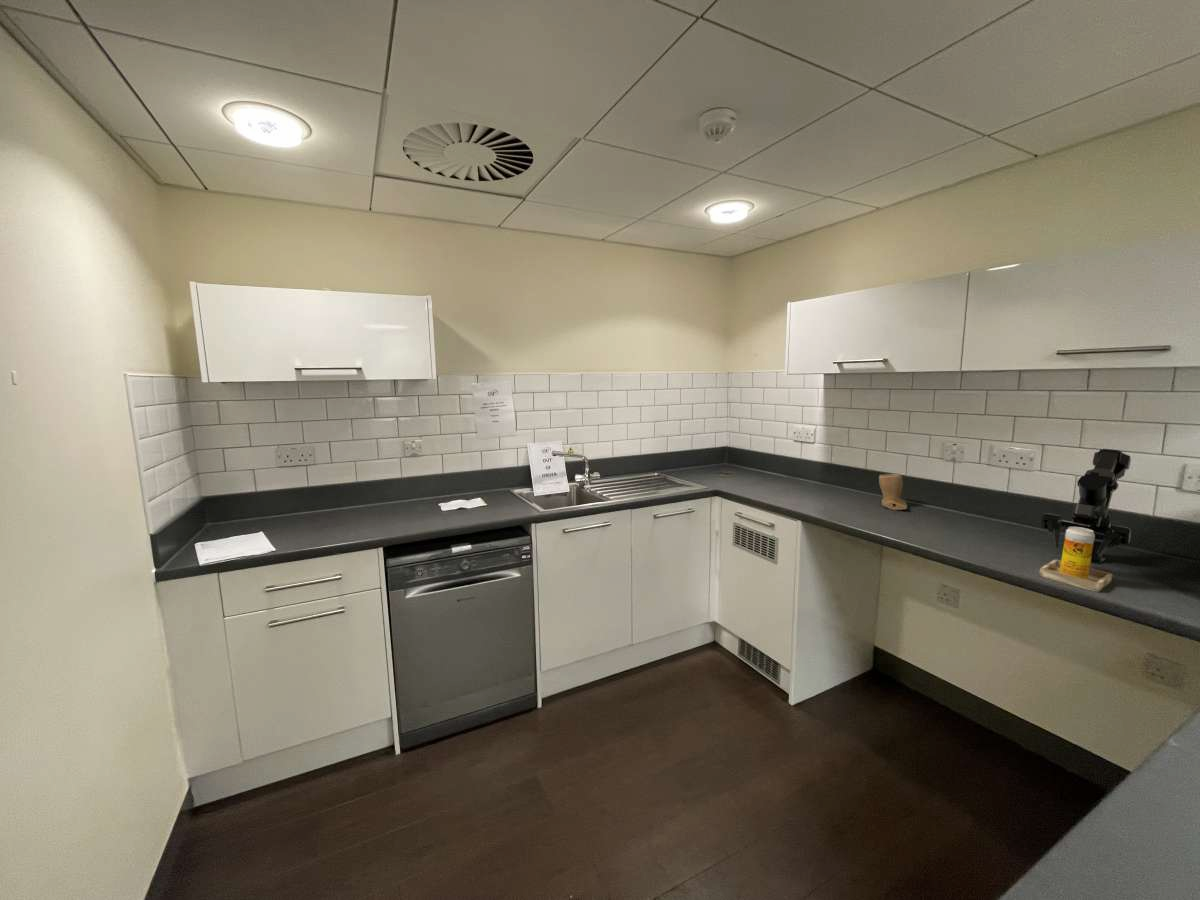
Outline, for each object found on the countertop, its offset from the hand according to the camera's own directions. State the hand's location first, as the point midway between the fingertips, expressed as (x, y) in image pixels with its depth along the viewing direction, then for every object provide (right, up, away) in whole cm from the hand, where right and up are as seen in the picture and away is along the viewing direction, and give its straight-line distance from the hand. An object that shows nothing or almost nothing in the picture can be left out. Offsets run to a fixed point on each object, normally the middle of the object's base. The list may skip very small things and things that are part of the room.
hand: (1076, 551), depth 142 cm
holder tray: (+3, -9, +3) cm, 10 cm away
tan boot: (-6, +4, +80) cm, 80 cm away
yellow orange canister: (+1, -8, +2) cm, 9 cm away
